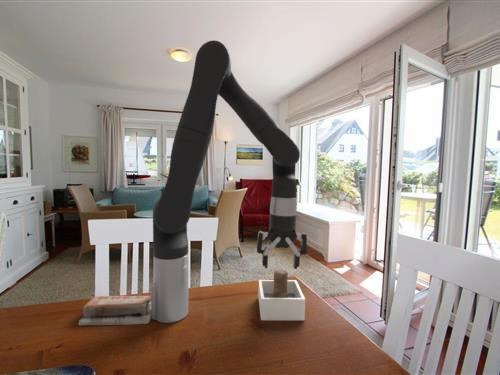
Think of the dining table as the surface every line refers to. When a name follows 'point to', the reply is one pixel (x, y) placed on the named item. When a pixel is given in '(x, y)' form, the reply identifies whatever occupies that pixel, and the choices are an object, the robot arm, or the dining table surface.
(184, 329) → the dining table surface
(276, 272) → the peg
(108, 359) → the dining table surface
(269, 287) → the open box
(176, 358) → the dining table surface
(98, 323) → the packaged product
